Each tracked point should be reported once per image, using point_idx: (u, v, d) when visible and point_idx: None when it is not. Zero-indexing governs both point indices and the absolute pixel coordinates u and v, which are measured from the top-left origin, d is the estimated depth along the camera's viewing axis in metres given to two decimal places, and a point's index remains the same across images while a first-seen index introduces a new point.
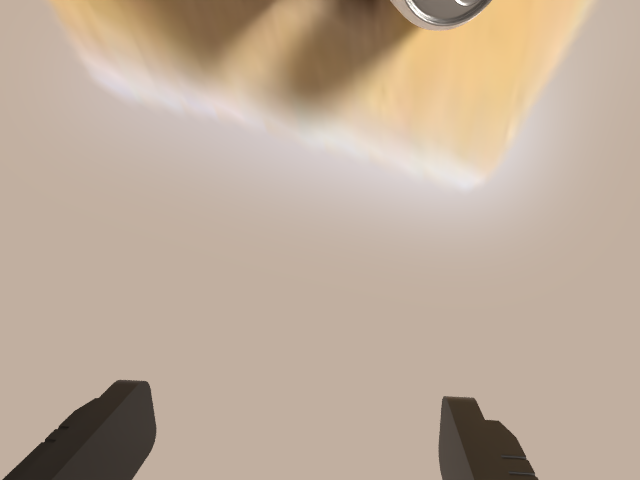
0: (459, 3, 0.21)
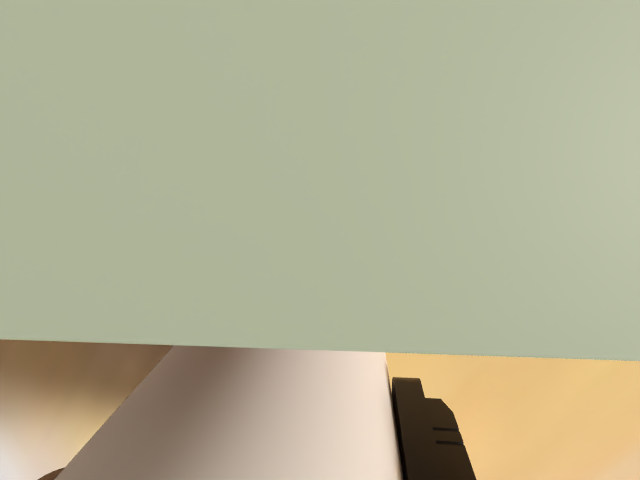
0: None
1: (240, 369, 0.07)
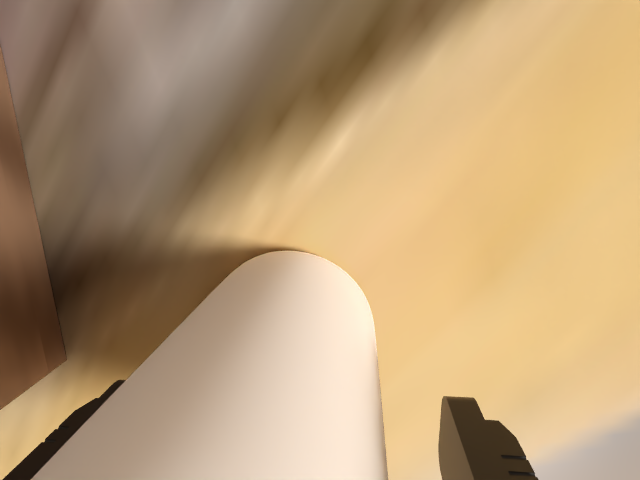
0: None
1: (248, 329, 0.08)
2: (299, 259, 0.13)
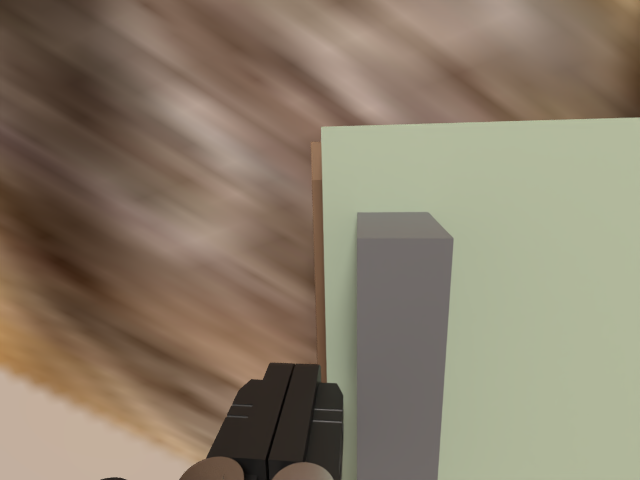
0: None
1: None
2: None
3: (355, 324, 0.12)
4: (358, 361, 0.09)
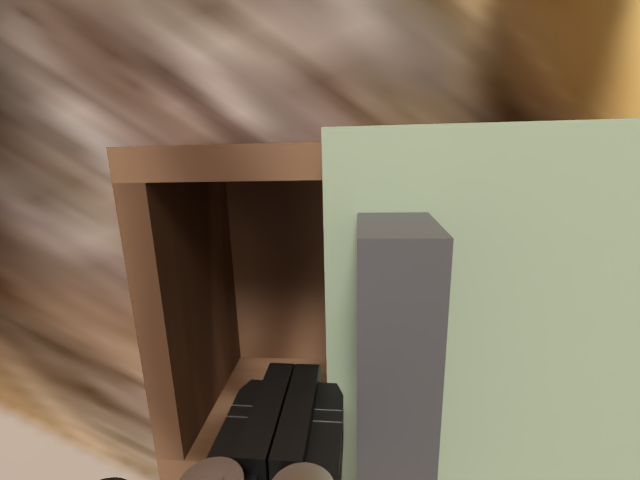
0: None
1: None
2: None
3: (355, 324, 0.12)
4: (358, 361, 0.09)
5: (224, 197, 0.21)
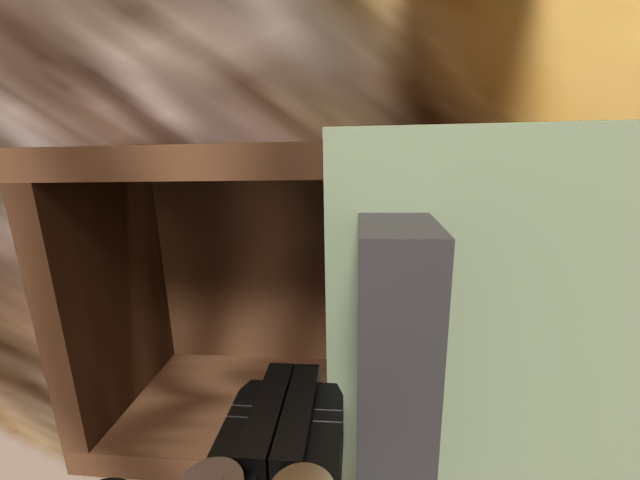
0: None
1: None
2: None
3: (355, 324, 0.12)
4: (359, 361, 0.09)
5: (150, 197, 0.21)
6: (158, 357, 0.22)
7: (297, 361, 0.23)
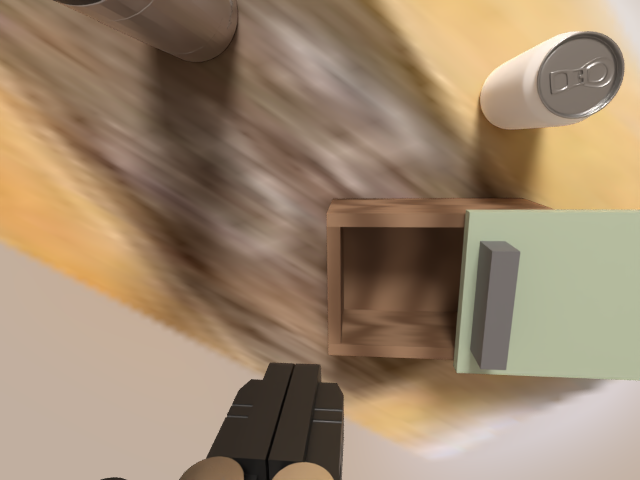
0: (603, 86, 0.26)
1: (502, 85, 0.32)
2: (484, 89, 0.36)
3: (475, 281, 0.32)
4: (489, 288, 0.29)
5: None
6: None
7: (413, 312, 0.43)
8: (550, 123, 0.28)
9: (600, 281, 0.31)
